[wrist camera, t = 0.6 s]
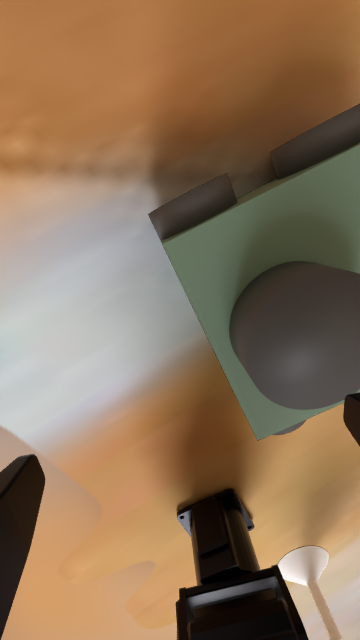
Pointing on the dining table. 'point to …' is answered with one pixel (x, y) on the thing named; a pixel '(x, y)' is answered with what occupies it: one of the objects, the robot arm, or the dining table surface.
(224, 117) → the dining table surface
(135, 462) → the dining table surface
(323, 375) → the green wheeled block
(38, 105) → the dining table surface
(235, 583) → the robot arm
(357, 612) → the dining table surface
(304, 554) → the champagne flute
